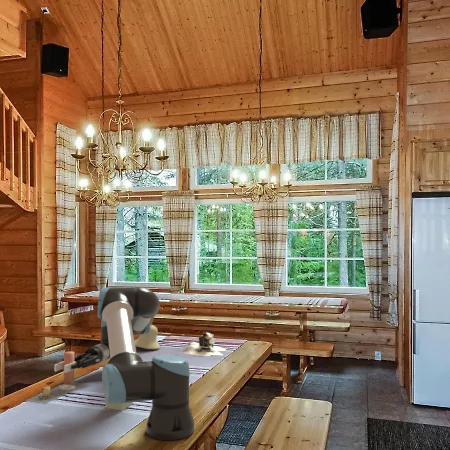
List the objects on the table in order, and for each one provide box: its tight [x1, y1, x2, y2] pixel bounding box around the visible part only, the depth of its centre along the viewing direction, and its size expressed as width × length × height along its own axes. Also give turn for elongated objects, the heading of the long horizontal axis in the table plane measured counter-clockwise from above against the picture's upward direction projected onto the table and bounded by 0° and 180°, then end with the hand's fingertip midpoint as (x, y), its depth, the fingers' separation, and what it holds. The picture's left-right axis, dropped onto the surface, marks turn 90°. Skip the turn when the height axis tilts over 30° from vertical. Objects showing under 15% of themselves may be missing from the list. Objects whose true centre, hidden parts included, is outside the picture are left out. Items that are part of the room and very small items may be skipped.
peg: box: [63, 351, 76, 384], centre depth 186 cm, size 4×4×12 cm
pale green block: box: [104, 398, 134, 412], centre depth 167 cm, size 7×7×11 cm
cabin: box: [180, 328, 227, 357], centre depth 250 cm, size 40×40×13 cm
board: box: [25, 382, 87, 405], centre depth 180 cm, size 24×9×4 cm, turn 160°
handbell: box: [134, 316, 161, 350], centre depth 255 cm, size 15×15×25 cm
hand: (60, 368), depth 181 cm, fingers closed on peg, 4 cm apart
